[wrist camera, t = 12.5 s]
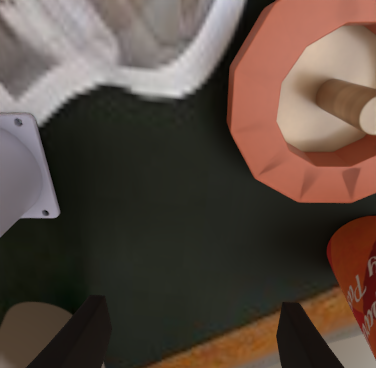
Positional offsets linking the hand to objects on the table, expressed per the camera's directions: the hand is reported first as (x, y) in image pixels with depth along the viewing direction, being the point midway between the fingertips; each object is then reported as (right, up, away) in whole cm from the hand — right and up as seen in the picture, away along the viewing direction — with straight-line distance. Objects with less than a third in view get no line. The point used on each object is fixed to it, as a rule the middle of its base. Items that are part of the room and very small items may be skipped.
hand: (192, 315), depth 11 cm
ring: (+8, +11, +5) cm, 14 cm away
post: (+8, +11, +6) cm, 15 cm away
